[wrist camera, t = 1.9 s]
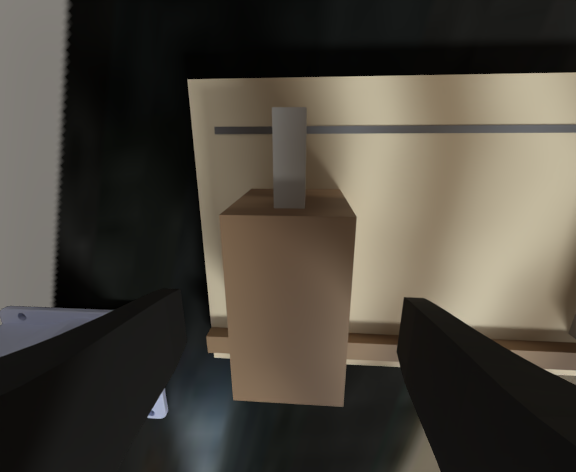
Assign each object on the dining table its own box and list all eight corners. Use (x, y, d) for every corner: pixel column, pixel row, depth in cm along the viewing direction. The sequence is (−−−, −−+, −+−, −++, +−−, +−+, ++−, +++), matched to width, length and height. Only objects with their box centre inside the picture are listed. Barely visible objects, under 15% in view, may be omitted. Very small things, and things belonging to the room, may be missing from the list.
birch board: (221, 340, 18) (201, 385, 15) (200, 85, 14) (164, 68, 10) (571, 356, 17) (636, 410, 13) (670, 78, 12) (804, 55, 9)
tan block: (256, 321, 16) (233, 400, 11) (248, 117, 12) (210, 103, 8) (333, 323, 15) (343, 406, 11) (343, 116, 12) (364, 102, 7)
